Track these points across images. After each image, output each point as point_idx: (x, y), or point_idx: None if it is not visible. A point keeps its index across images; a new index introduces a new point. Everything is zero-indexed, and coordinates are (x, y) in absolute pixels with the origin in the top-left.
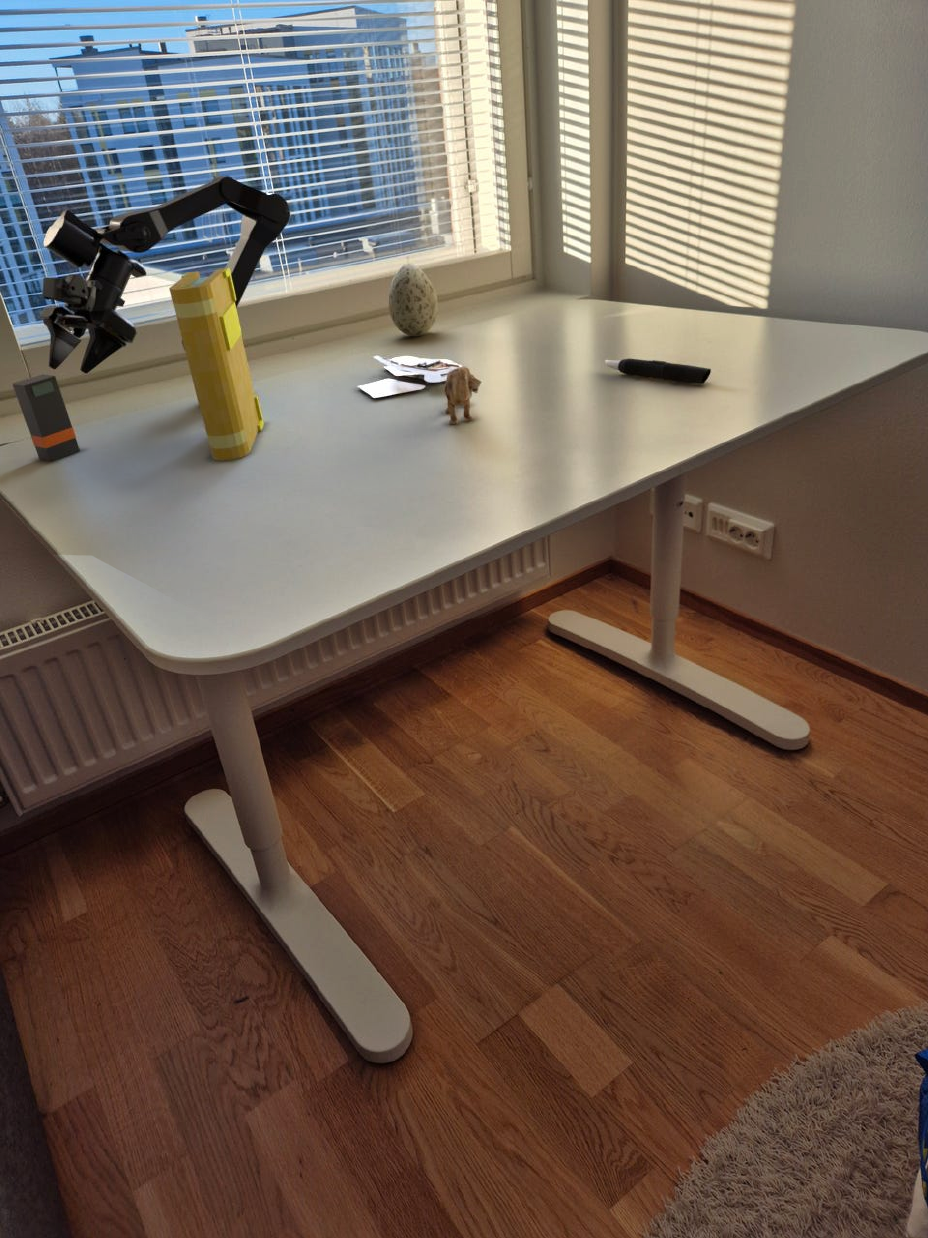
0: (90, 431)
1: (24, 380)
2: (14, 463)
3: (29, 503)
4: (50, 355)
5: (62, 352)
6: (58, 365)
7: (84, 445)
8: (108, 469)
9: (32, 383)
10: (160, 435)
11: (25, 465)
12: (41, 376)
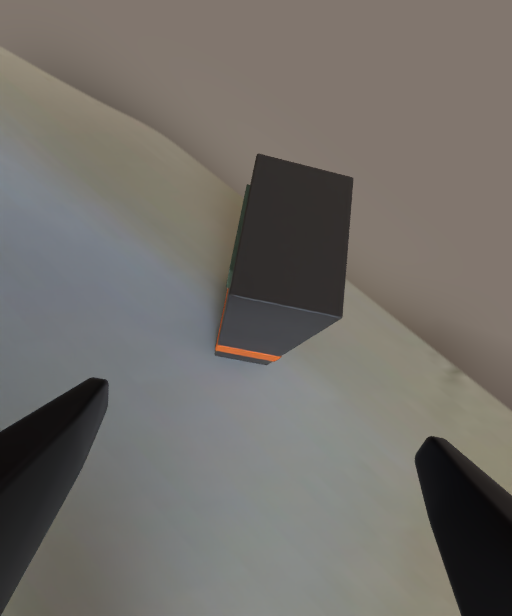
0: (323, 497)
1: (335, 216)
2: None
3: (82, 105)
4: (494, 489)
5: (487, 595)
6: (422, 490)
7: (239, 393)
8: (27, 264)
9: (250, 186)
10: None
11: None
12: (306, 279)
